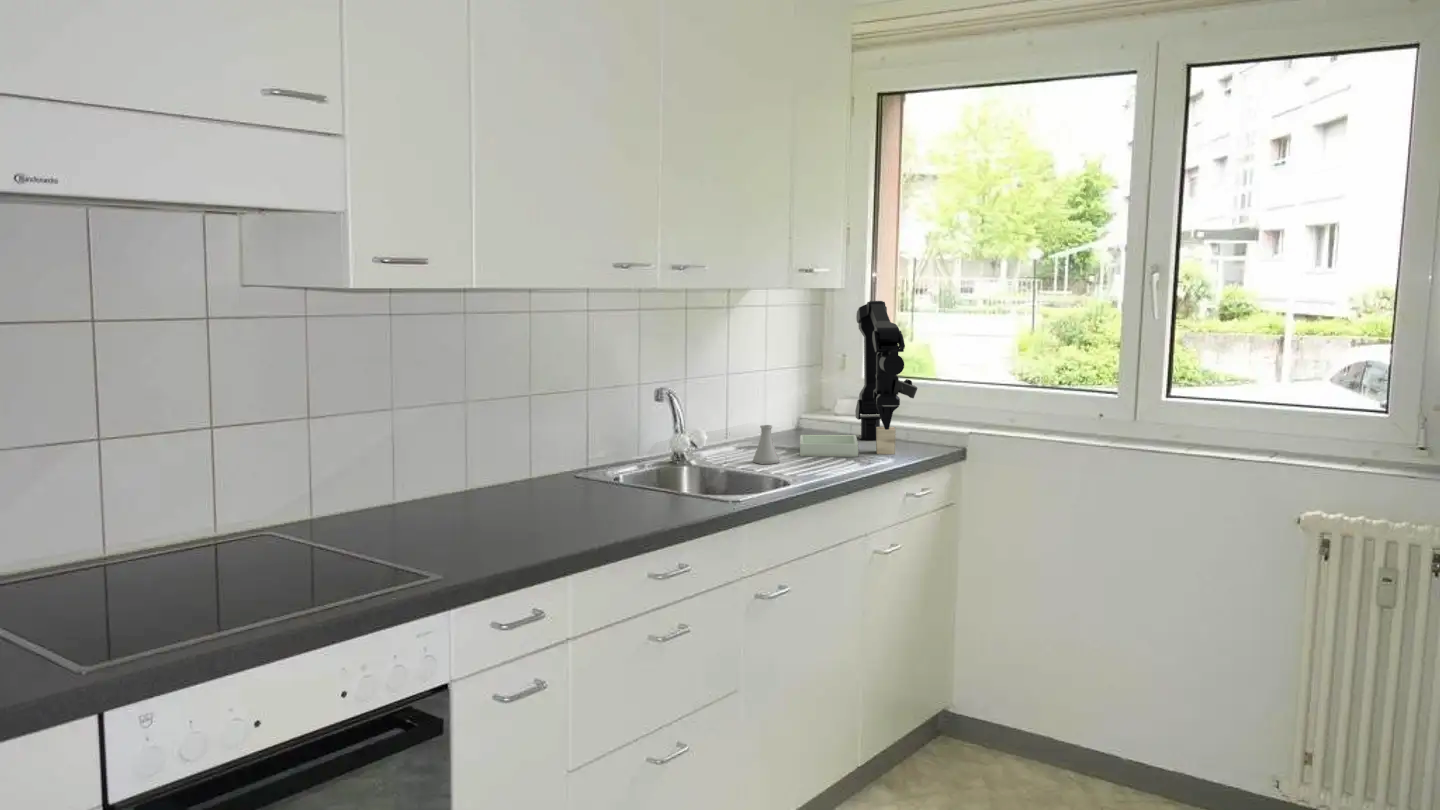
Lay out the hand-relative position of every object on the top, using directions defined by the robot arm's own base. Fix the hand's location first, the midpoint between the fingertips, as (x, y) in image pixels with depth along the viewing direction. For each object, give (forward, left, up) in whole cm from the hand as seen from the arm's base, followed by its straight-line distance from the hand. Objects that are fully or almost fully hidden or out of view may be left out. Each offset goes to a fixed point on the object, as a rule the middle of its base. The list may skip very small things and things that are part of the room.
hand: (885, 426), depth 316 cm
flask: (+16, -33, -8) cm, 38 cm away
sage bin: (-1, -16, -7) cm, 18 cm away
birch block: (0, 0, -7) cm, 7 cm away
